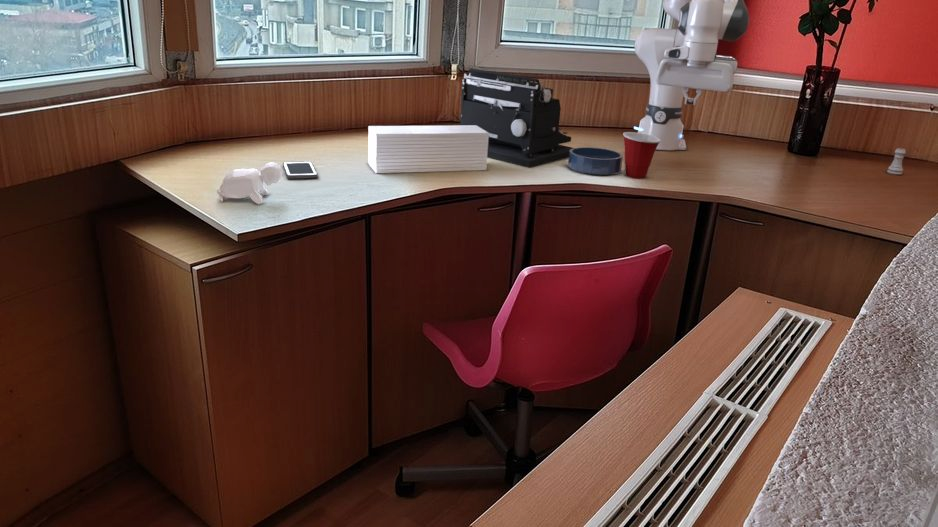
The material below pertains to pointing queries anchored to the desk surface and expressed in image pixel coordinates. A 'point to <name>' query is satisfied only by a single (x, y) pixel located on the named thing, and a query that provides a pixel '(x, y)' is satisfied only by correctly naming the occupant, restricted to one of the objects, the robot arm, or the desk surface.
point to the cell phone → (299, 169)
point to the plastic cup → (639, 153)
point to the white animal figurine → (250, 182)
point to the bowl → (595, 160)
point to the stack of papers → (427, 148)
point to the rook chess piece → (897, 163)
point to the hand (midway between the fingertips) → (690, 104)
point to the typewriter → (514, 117)
